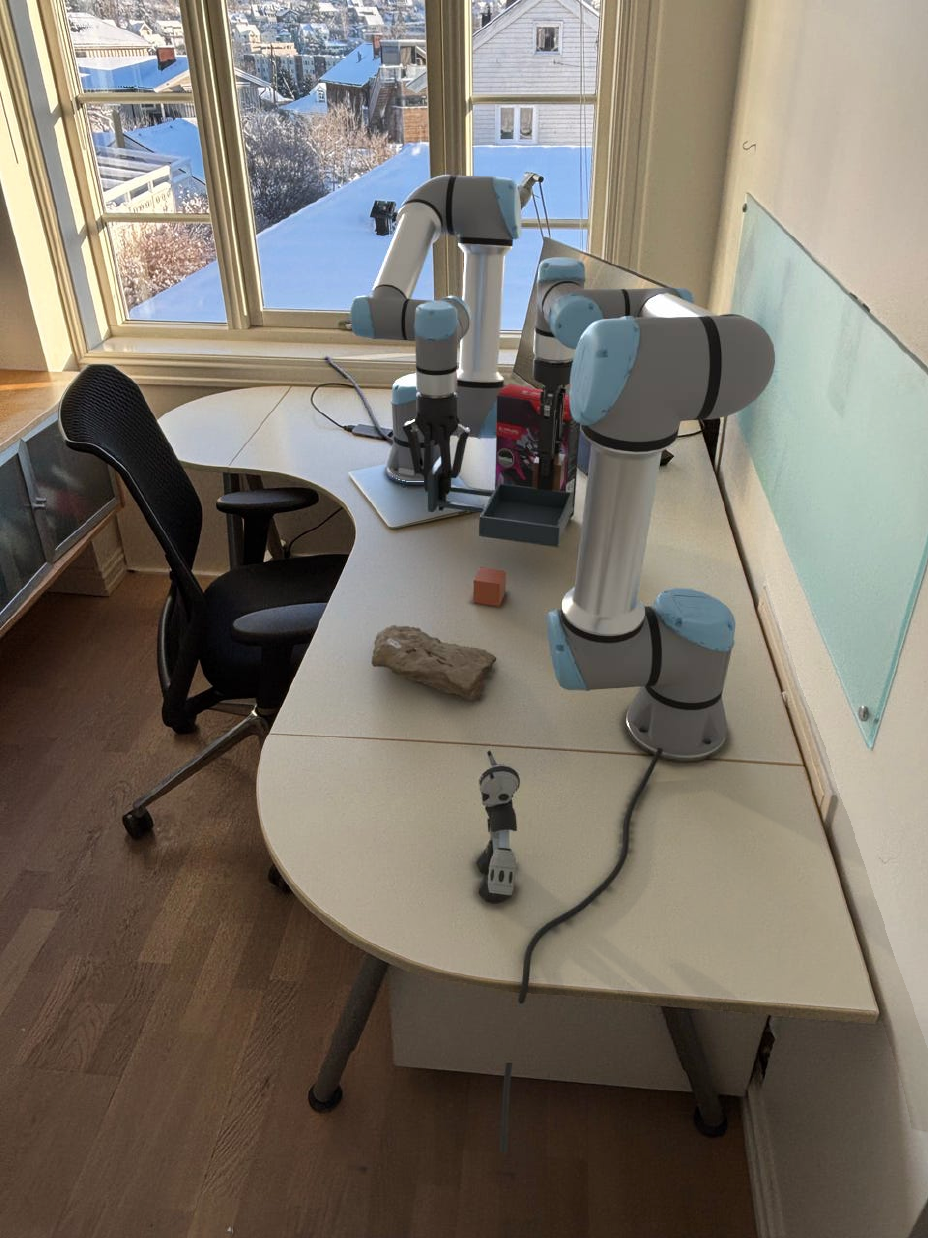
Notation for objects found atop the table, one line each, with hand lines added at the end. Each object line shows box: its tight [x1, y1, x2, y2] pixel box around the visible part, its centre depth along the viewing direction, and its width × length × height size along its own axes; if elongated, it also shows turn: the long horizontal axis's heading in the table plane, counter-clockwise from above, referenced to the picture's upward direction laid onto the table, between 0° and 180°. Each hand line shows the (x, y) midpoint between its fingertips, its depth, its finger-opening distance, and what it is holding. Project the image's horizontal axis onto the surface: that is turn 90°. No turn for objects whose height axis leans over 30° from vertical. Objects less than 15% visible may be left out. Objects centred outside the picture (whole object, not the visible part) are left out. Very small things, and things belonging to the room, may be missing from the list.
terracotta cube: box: [472, 566, 507, 608], centre depth 173 cm, size 5×5×5 cm
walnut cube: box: [532, 453, 565, 491], centre depth 166 cm, size 5×5×5 cm
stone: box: [371, 624, 498, 702], centre depth 153 cm, size 21×15×6 cm
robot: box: [475, 750, 521, 904], centre depth 113 cm, size 20×5×20 cm, turn 3°
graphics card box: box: [494, 383, 581, 520], centre depth 195 cm, size 17×7×27 cm, turn 62°
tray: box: [427, 456, 574, 548], centre depth 177 cm, size 26×15×10 cm, turn 75°
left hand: (437, 506), depth 182 cm, fingers closed on tray
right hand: (547, 482), depth 168 cm, fingers closed on walnut cube, 5 cm apart
